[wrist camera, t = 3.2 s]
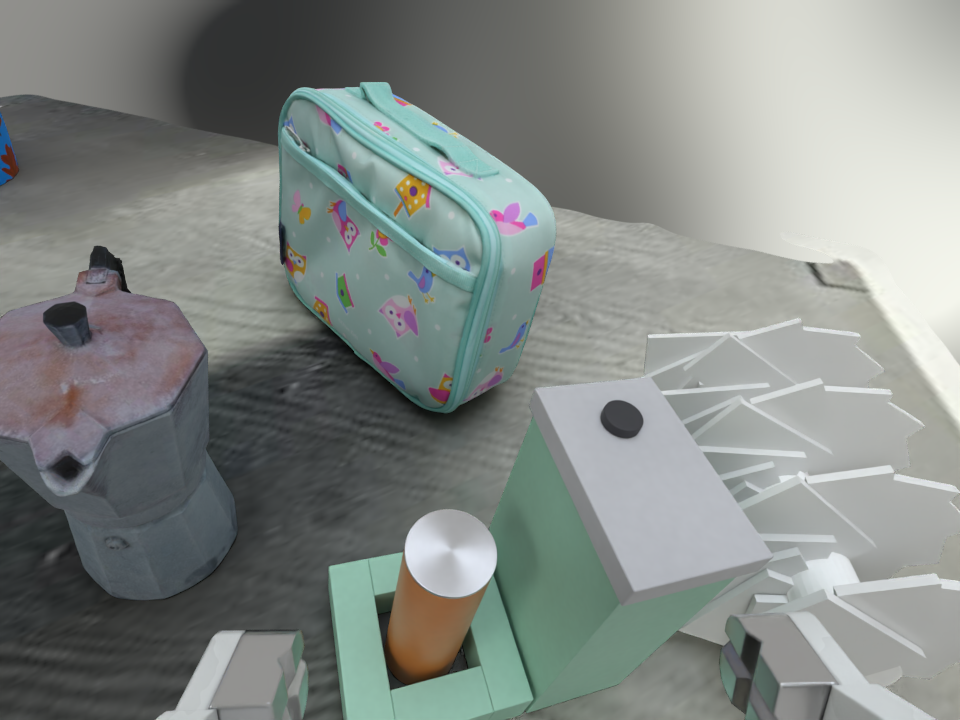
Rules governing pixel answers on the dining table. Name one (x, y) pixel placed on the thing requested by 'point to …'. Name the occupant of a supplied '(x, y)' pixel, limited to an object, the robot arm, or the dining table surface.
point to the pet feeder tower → (610, 535)
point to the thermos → (6, 155)
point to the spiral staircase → (819, 491)
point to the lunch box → (409, 241)
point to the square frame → (432, 703)
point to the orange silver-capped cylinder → (437, 593)
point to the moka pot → (117, 431)
